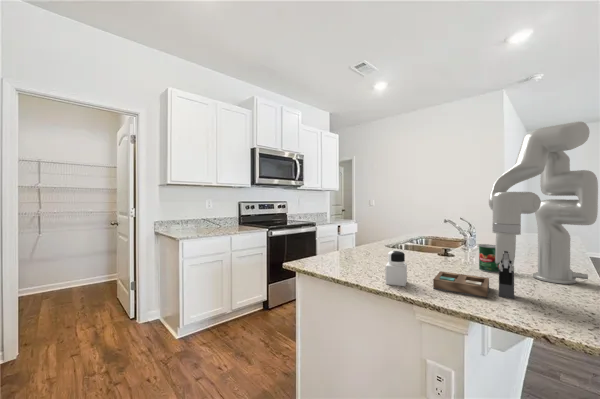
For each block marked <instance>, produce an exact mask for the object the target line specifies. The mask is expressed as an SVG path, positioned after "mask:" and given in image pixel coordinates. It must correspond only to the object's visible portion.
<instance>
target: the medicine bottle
mask: <svg viewBox="0 0 600 399" xmlns="http://www.w3.org/2000/svg"><path fill="white" fill-rule="evenodd" d="M405 257H406V255H405V253H404V252H403V251H399V250H391V251H389V252H387V263H386V265H385V285H389V286H396V287H397V286H399V287H406V286H407V281H408V272H407V271H408V267H407V266H408V264H407V263H406V262H405V261H406V260H405V259H406V258H405Z"/></svg>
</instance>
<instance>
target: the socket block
mask: <svg viewBox="0 0 600 399" xmlns="http://www.w3.org/2000/svg"><path fill="white" fill-rule="evenodd" d="M432 284H433V286H432V288H433V290H438V291H442V292H443V291H444V292H449V293H455V294H459V295H460V294H461V295H464V296H465V295H466V296H472V297H478V298H483V299H488V296H489V290H490V277H483V276H476V275H470V274H469V275H468V274H464V273H456V272H448V271H441V270H439V272H438V273H437V274H436V276H434V278H433V282H432Z"/></svg>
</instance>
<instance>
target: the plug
mask: <svg viewBox="0 0 600 399" xmlns="http://www.w3.org/2000/svg"><path fill="white" fill-rule="evenodd" d="M500 271H501V263H500V264H499V273H498V297H500V298H501V297H502V298H507V299H512V300H514V299H515V264H514V265H511V272H512V285H505V284H500Z"/></svg>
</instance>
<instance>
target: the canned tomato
mask: <svg viewBox="0 0 600 399" xmlns="http://www.w3.org/2000/svg"><path fill="white" fill-rule="evenodd" d="M495 248H496V244H489V243H488V244H486V243H484V244H483V243H481V244H478V258H479V259H478V270H480V271H481V272H486V273H493V274H495V273H496V274H497V273H498V274H499V264H501V262H500V263H498V264H496V263H495Z"/></svg>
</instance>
